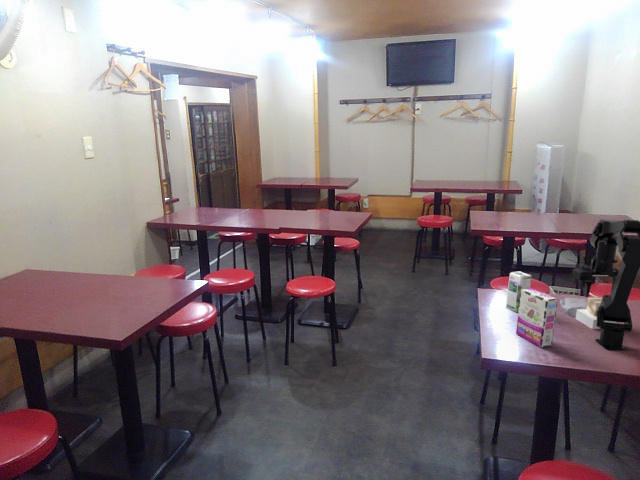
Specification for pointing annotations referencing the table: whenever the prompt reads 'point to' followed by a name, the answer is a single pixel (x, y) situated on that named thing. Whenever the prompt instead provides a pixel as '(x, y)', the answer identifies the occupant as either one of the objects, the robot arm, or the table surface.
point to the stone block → (573, 305)
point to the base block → (588, 318)
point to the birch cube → (593, 305)
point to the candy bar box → (536, 317)
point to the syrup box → (516, 289)
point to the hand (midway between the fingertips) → (599, 297)
